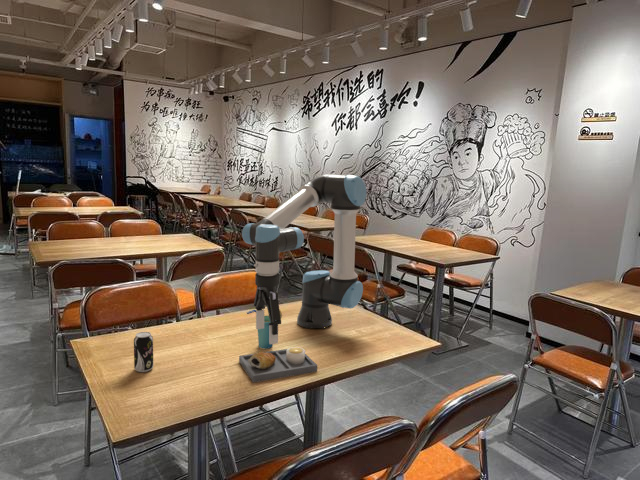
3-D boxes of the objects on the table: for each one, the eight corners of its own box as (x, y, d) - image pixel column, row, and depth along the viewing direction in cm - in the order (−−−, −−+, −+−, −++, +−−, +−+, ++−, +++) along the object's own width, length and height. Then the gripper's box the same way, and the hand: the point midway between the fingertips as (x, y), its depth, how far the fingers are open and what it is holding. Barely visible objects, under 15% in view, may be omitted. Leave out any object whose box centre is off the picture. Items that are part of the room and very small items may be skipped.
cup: (250, 353, 158) (251, 313, 156) (241, 346, 165) (242, 307, 162) (284, 346, 166) (286, 308, 164) (274, 339, 172) (275, 302, 170)
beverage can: (141, 375, 139) (141, 338, 137) (130, 370, 142) (129, 334, 140) (157, 368, 144) (156, 333, 142) (145, 364, 147) (145, 329, 145)
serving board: (239, 361, 151) (239, 348, 151) (298, 352, 161) (298, 340, 160) (253, 382, 137) (253, 367, 136) (317, 371, 147) (317, 357, 146)
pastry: (265, 355, 153) (267, 345, 152) (280, 363, 149) (282, 353, 148) (246, 363, 145) (248, 353, 144) (261, 372, 141) (263, 361, 141)
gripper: (244, 265, 151) (244, 324, 155) (268, 284, 129) (268, 352, 133) (265, 263, 155) (265, 321, 158) (292, 281, 133) (291, 348, 136)
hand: (266, 335), depth 146 cm, fingers open, 13 cm apart
